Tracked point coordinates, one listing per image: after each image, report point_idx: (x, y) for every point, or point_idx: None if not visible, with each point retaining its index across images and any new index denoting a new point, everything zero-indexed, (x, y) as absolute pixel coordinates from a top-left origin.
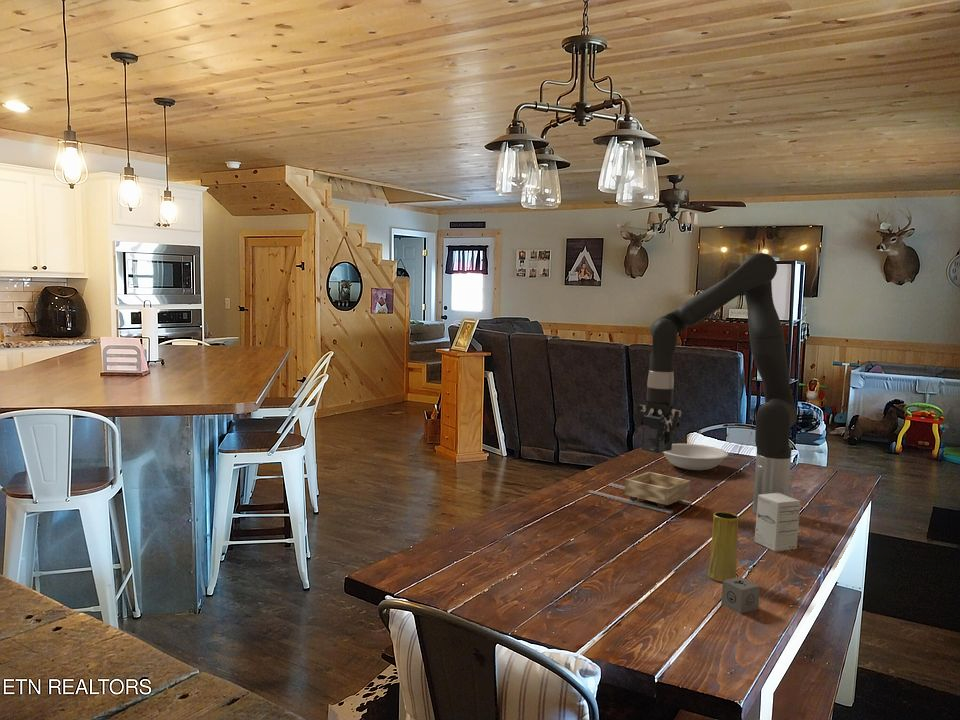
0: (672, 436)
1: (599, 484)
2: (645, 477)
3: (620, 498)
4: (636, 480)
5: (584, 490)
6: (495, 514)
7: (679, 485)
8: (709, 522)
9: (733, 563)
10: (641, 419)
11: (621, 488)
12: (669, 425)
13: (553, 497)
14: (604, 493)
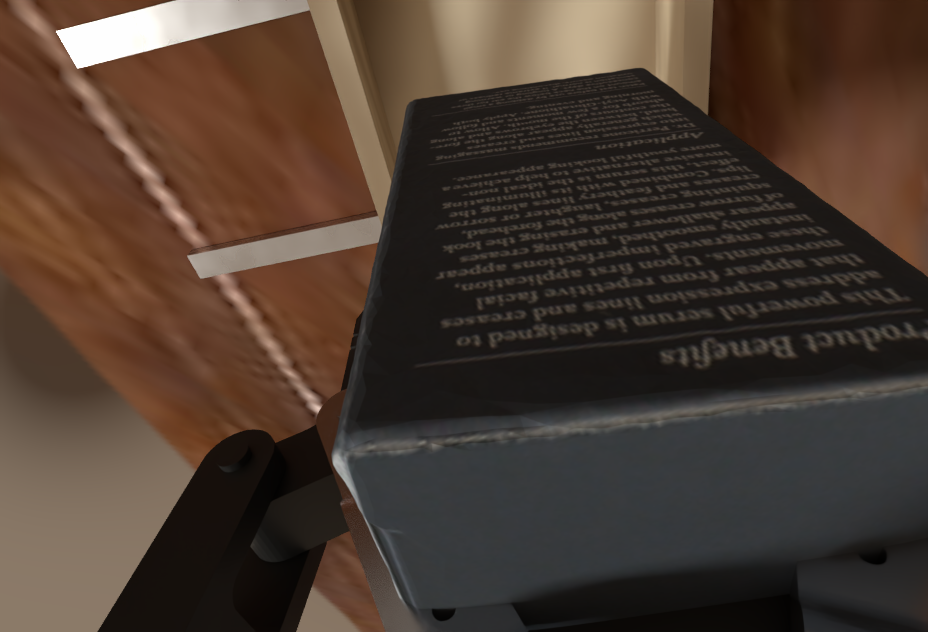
0: (718, 124)
1: (32, 87)
2: (361, 66)
3: (379, 233)
4: None
5: (149, 252)
6: (326, 590)
7: (707, 90)
8: (886, 112)
9: None
10: (301, 606)
11: (176, 43)
12: None
13: (222, 415)
14: (269, 239)
